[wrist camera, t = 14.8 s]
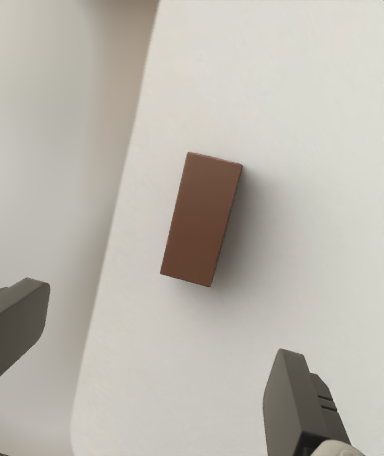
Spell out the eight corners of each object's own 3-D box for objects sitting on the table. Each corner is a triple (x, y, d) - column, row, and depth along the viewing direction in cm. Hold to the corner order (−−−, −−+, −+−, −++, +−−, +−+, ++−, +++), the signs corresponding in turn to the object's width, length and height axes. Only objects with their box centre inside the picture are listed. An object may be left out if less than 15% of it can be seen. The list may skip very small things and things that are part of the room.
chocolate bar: (168, 260, 24) (159, 274, 21) (193, 152, 22) (187, 151, 20) (213, 272, 24) (210, 287, 21) (241, 164, 22) (243, 165, 19)
